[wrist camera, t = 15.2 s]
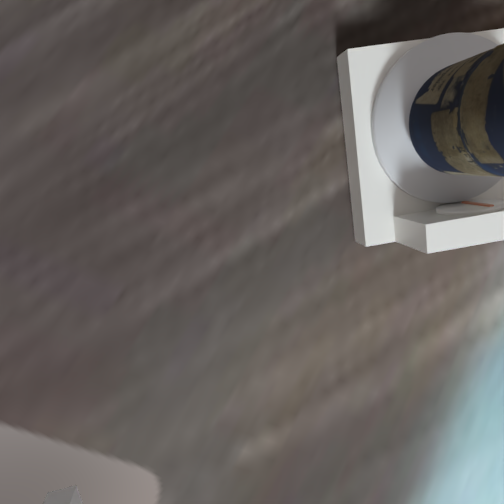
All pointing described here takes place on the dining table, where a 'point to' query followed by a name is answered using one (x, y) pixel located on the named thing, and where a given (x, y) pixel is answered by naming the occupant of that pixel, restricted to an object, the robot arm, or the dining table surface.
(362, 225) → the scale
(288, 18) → the dining table surface
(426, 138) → the canister
